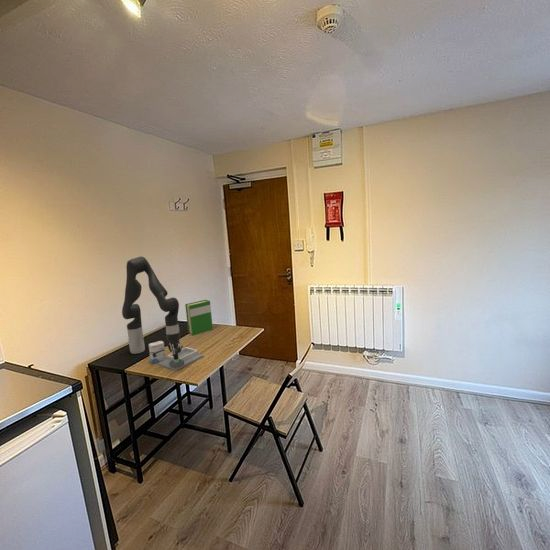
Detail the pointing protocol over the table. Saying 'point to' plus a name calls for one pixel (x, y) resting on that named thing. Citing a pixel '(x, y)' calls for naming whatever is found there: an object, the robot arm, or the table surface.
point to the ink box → (157, 351)
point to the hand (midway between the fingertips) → (176, 359)
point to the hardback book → (199, 317)
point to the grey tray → (181, 359)
